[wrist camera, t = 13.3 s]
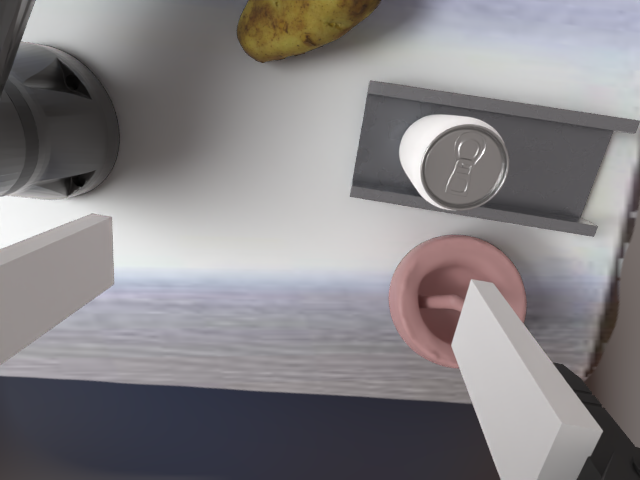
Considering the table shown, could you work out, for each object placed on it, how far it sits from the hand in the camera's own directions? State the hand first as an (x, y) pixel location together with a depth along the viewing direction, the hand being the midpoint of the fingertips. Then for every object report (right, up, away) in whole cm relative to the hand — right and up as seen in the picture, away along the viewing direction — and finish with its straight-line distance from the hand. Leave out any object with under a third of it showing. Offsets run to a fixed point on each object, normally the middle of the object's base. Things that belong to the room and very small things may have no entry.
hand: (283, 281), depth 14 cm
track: (+16, +10, +23) cm, 30 cm away
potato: (+1, +22, +21) cm, 31 cm away
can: (+12, +10, +23) cm, 28 cm away
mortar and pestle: (+14, -2, +28) cm, 31 cm away
